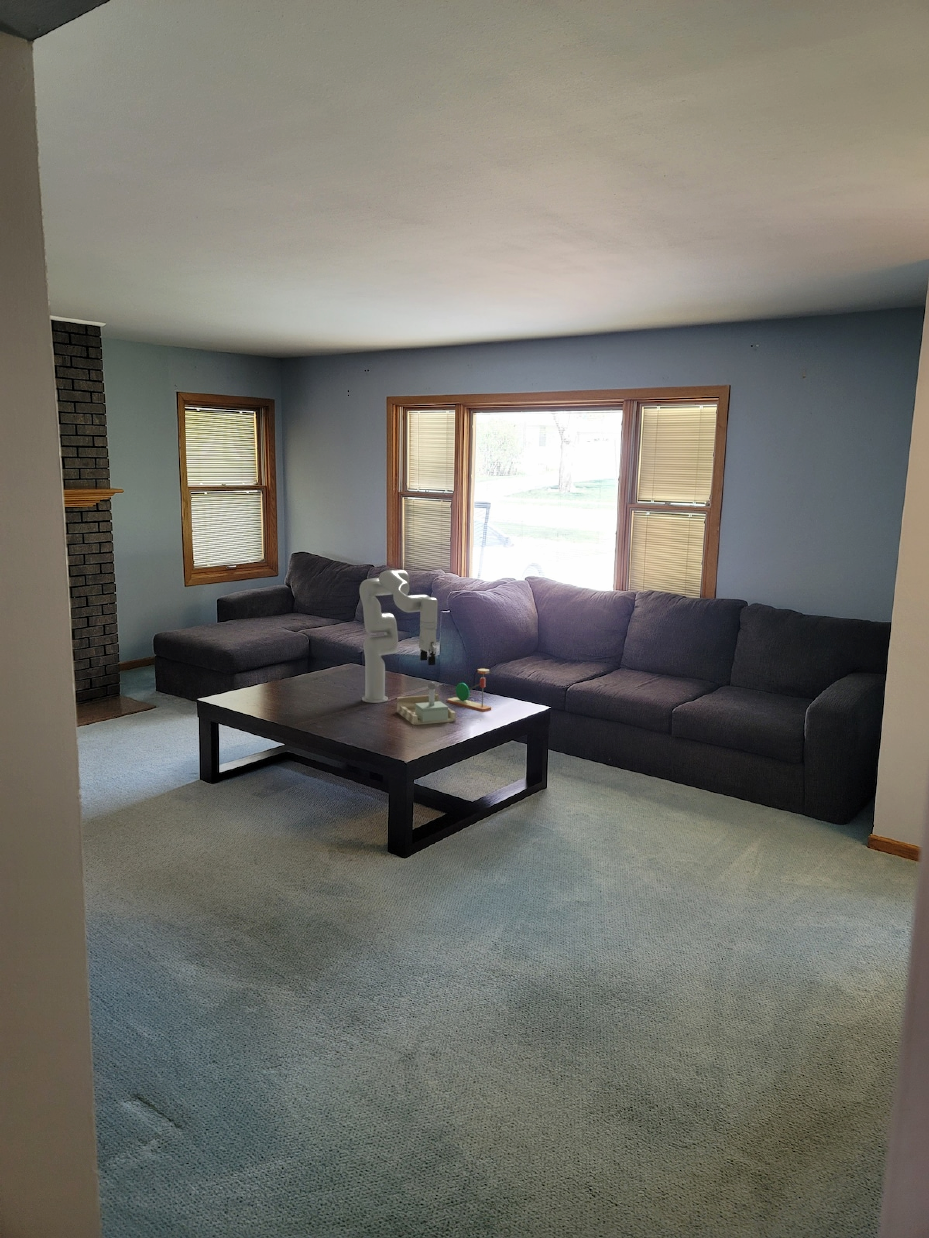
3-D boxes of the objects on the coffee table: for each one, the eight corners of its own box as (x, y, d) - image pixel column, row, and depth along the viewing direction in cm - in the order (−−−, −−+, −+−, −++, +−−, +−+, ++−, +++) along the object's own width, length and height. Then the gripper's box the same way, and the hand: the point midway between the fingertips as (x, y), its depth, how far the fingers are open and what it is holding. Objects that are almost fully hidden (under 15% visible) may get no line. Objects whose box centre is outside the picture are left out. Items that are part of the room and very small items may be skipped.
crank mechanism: (492, 709, 418) (493, 670, 415) (483, 712, 414) (484, 672, 411) (455, 699, 436) (456, 661, 433) (445, 701, 431) (446, 663, 428)
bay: (397, 712, 410) (397, 697, 409) (437, 708, 418) (437, 694, 417) (413, 725, 389) (414, 709, 388) (455, 721, 397) (455, 706, 396)
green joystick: (414, 716, 399) (415, 680, 397) (439, 713, 404) (440, 678, 401) (422, 722, 390) (423, 685, 387) (448, 719, 395) (448, 683, 392)
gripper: (413, 622, 398) (413, 659, 401) (427, 628, 382) (426, 667, 385) (429, 621, 401) (428, 658, 404) (443, 628, 385) (442, 666, 388)
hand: (427, 662), depth 394 cm, fingers open, 9 cm apart
